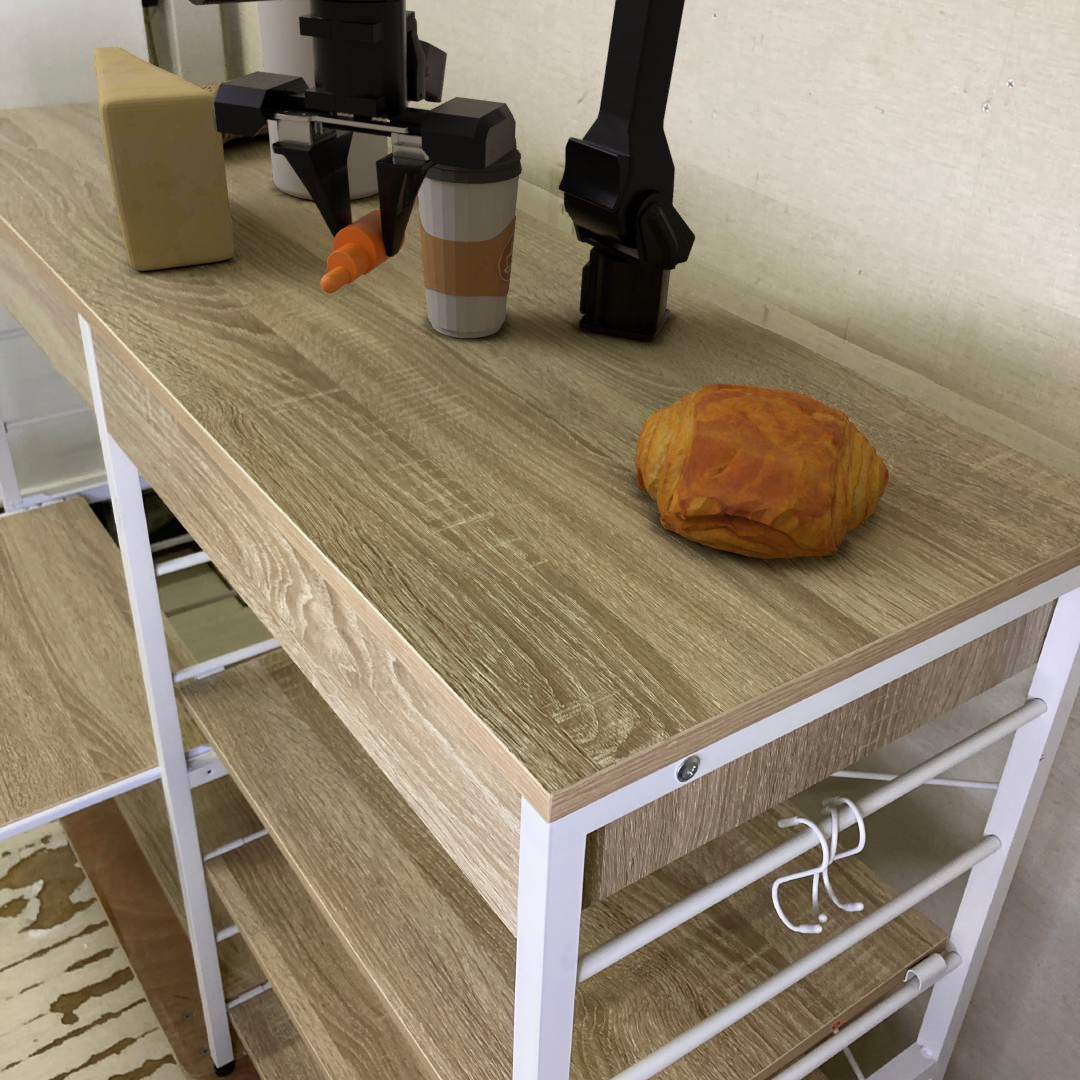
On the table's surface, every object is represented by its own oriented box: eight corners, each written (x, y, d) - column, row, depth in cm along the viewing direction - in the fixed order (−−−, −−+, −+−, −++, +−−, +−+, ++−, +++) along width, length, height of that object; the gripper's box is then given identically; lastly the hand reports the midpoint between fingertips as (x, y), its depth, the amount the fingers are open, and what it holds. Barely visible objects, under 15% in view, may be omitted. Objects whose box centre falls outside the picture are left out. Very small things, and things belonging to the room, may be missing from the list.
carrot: (348, 300, 69) (346, 251, 67) (303, 290, 70) (300, 242, 68) (417, 249, 77) (417, 205, 76) (376, 241, 78) (376, 197, 76)
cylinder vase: (269, 202, 115) (244, -68, 101) (278, 169, 125) (256, -81, 111) (389, 203, 116) (381, -63, 102) (388, 170, 127) (380, -76, 113)
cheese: (81, 203, 112) (51, 44, 103) (177, 193, 116) (156, 40, 108) (129, 276, 96) (98, 96, 88) (238, 261, 100) (219, 88, 92)
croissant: (667, 458, 78) (665, 351, 74) (894, 482, 72) (905, 367, 68) (597, 557, 67) (591, 437, 63) (860, 595, 61) (871, 466, 57)
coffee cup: (503, 350, 87) (509, 157, 78) (403, 337, 88) (398, 145, 80) (526, 311, 94) (533, 129, 85) (432, 299, 95) (430, 119, 86)
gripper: (549, -7, 69) (539, 236, 78) (288, -33, 74) (306, 198, 82) (483, 18, 60) (480, 289, 69) (192, -13, 65) (223, 243, 74)
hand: (369, 250), depth 74 cm, fingers closed on carrot, 3 cm apart
